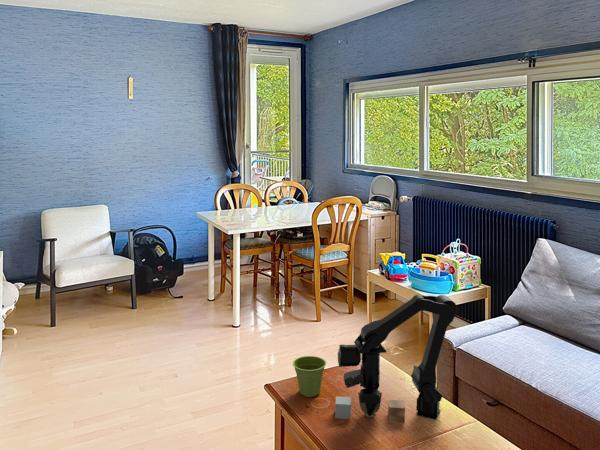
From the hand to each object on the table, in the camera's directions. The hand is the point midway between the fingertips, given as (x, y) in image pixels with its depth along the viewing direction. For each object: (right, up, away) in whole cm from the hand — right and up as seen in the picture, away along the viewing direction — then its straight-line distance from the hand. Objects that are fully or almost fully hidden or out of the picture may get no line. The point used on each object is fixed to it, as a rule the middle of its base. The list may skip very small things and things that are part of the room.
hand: (369, 410), depth 171 cm
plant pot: (-19, 0, +16) cm, 25 cm away
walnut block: (+8, -2, -1) cm, 9 cm away
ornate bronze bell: (0, -2, 0) cm, 2 cm away
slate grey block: (-8, -2, +1) cm, 9 cm away
